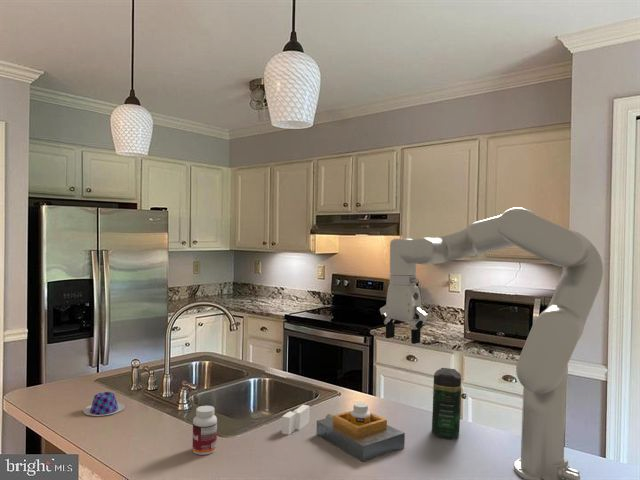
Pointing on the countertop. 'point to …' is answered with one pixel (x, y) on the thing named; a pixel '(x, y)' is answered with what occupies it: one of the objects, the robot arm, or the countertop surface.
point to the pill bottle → (204, 431)
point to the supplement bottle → (360, 414)
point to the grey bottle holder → (360, 436)
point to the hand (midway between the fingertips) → (402, 340)
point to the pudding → (104, 405)
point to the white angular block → (295, 419)
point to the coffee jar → (446, 403)
